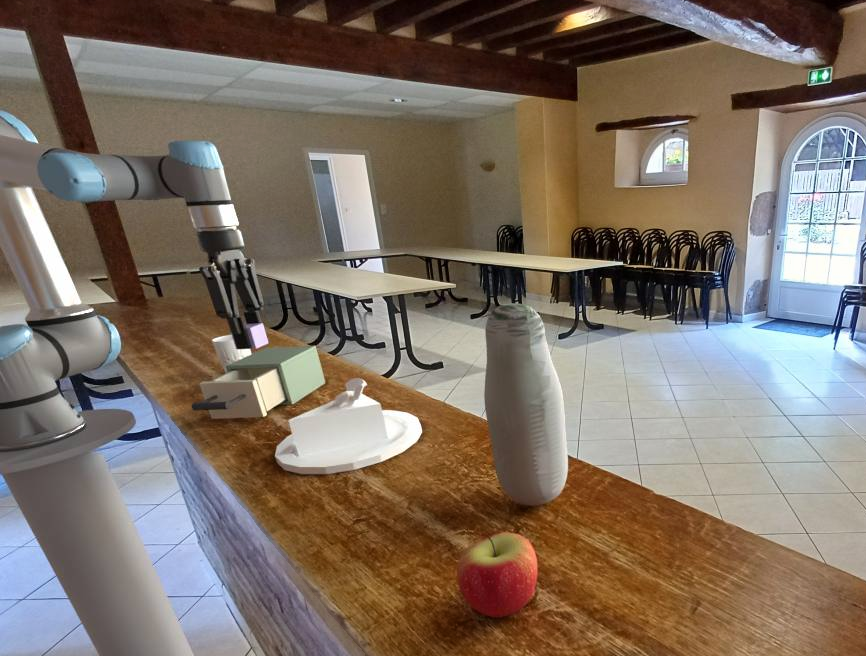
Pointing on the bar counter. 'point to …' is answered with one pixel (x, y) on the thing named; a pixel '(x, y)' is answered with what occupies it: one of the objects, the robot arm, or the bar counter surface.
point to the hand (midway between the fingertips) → (252, 344)
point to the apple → (498, 574)
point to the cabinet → (288, 368)
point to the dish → (346, 434)
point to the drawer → (242, 393)
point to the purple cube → (255, 335)
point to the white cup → (228, 351)
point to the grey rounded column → (524, 407)
